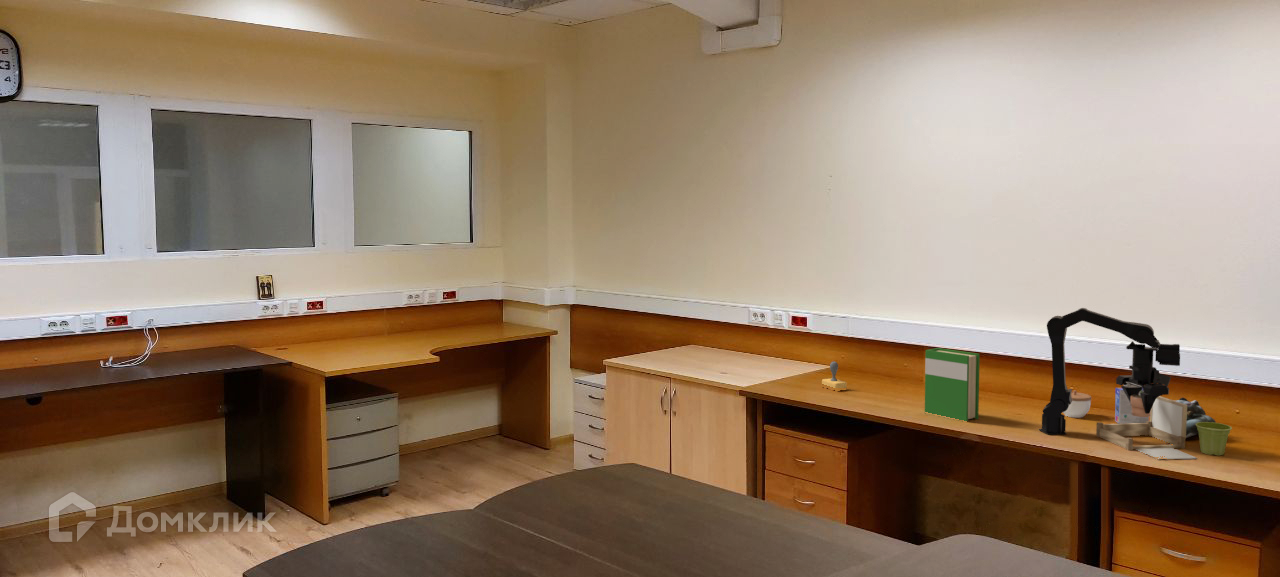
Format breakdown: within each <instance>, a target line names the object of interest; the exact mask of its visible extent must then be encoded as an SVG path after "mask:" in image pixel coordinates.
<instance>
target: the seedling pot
mask: <svg viewBox="0 0 1280 577" xmlns="http://www.w3.org/2000/svg"><path fill="white" fill-rule="evenodd" d="M1140 393H1143V391H1142V390H1141V391H1140ZM1130 405H1131V406H1132V410H1131V415H1134V416H1138V417H1149V418H1150V416H1151V410H1150V413H1149V414H1146V413H1145V410H1144V407H1143V403H1142V399H1141V395H1131V397H1130Z"/></svg>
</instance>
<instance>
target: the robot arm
mask: <svg viewBox="0 0 1280 577" xmlns="http://www.w3.org/2000/svg"><path fill="white" fill-rule="evenodd" d="M1081 322H1086V323H1088V324H1091V325H1095V326H1098V327H1101V328H1104V329H1107V330H1110V331H1114V332H1117V333H1120V334H1121V335H1123V336H1124V337H1127V338H1129V339H1130V340H1132V341H1130V343H1129V344H1128V345H1126V348H1125V349H1127V350H1132V364H1131V365H1128V366H1129V367H1128V369H1129V370H1131V374H1130V375H1129V374H1127V375H1118V376H1117V377H1116V378H1115V380H1116V381H1115V382H1116V385H1119V386H1120V388H1122V389H1123V390H1124V392H1125V394H1126V396H1127V398H1128V400H1129V402H1130V397H1131V395H1139V392H1140V391H1141V390H1142V389H1143V391H1144V393H1140V395H1141V399H1142V403H1143V407H1144V410H1145V413H1146V414H1149V413H1150V410H1151V408H1152V406H1153V404H1154V402H1155V400H1156V398H1157V397H1159V396H1161V397H1163V396H1166V395H1170V388H1169V387H1168V386H1169V384H1170V382H1171V378H1172V377H1171V376H1169V375H1166V374H1163V373H1160V370H1159V369H1158V368H1156V367H1154V361H1155V362H1157V363H1159V365H1160V366H1175V367H1180V364H1181V353H1180V352H1181V351H1180V349H1181V348H1180V345H1181V344H1179V343H1175V344H1174V343H1173V344H1169V343H1168V344H1167V343H1161V342H1160V341H1159V340H1158V338H1156V336H1155V331H1154V329H1153V327H1152V326H1151V325H1150V324H1147V323H1141V322H1134V321H1125V320H1121V319H1118V318H1115V317H1112V316H1109V315H1105V314H1103V313H1100V312H1096V311H1093V310H1089V309H1087V308H1085V307H1081V308H1078V309H1077V310H1075V311H1071V312H1070V313H1068V314H1067V313H1066V314H1065V315H1062V316H1061V315H1055V316H1053V317H1051V318H1050V319H1049V320H1048V321H1047V323H1046V329H1047V330H1046V331H1047V334H1048V337H1049V340H1050V343H1051V361H1052V363H1051V366H1052V388H1051V394H1050V399H1049V402H1048V403H1047V404H1046V405H1045V406H1044V408H1043V409H1042V413H1041V428H1039V429H1038V430H1039V431H1040V432H1042V433H1044V434H1046V435H1050V436H1053V435H1067V434H1068V433H1067V432H1066V429H1067V428H1066V424H1067V423H1066V422H1067V419H1066V418H1065V417H1066V416H1065V414H1064V413H1063V412H1065V411H1066V410H1067V409H1068V407H1069V405H1070V404H1071V402H1072V401H1073V400H1072V397H1071V393H1072V392H1073V388H1068V386H1067V383H1066V382H1067V381H1066V380H1067V379H1066V356H1065V341H1066V336H1067V331H1068V328H1070V327H1071V326H1074V325H1076V324H1078V323H1081ZM1146 345H1147V346H1146ZM1154 352H1155V359H1154Z"/></svg>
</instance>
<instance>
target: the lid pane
mask: <svg viewBox="0 0 1280 577" xmlns="http://www.w3.org/2000/svg"><path fill="white" fill-rule="evenodd" d="M1149 421H1150V422H1152V427H1154V428H1157V429H1159V430H1162V431H1165V432H1167V433H1170V434H1172V435H1175V436H1182V437H1185V440H1186V439H1187V438H1186V423H1187V405H1186V404H1183V403H1179V402H1176V401H1175V400H1173V399H1170V398H1167V397H1164V396H1159V397H1157V398H1156V400H1155V402H1154V404H1153V406H1152V408H1151V416H1150V417H1149Z"/></svg>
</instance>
